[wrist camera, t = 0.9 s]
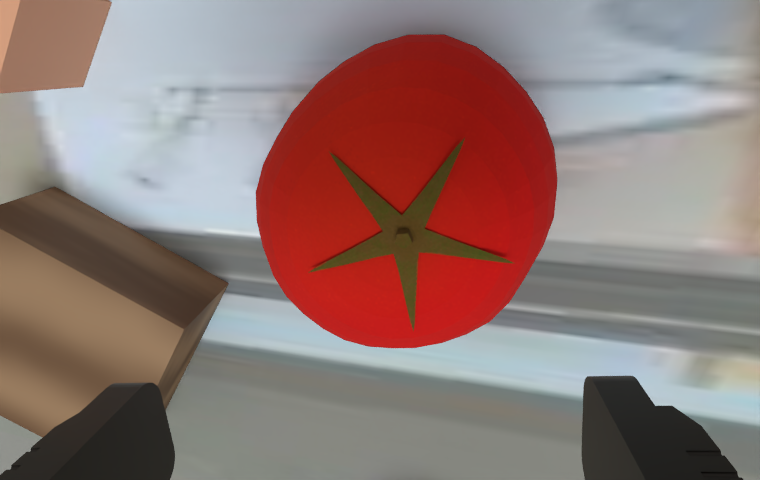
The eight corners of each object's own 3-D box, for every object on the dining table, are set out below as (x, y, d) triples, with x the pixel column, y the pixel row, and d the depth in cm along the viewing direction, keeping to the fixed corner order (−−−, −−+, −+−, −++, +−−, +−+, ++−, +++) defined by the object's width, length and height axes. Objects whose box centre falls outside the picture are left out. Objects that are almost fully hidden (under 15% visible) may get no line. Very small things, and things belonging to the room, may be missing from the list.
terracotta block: (26, -51, 26) (-87, -80, 21) (112, 2, 27) (23, -12, 21) (3, 38, 28) (-107, 33, 22) (83, 86, 28) (-5, 93, 23)
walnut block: (58, 185, 31) (-28, 213, 25) (230, 281, 32) (184, 329, 26) (13, 328, 35) (-69, 379, 30) (166, 410, 36) (114, 474, 30)
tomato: (432, 331, 31) (426, 455, 21) (254, 215, 30) (162, 292, 20) (592, 136, 26) (680, 183, 16) (386, -11, 25) (348, -55, 15)
